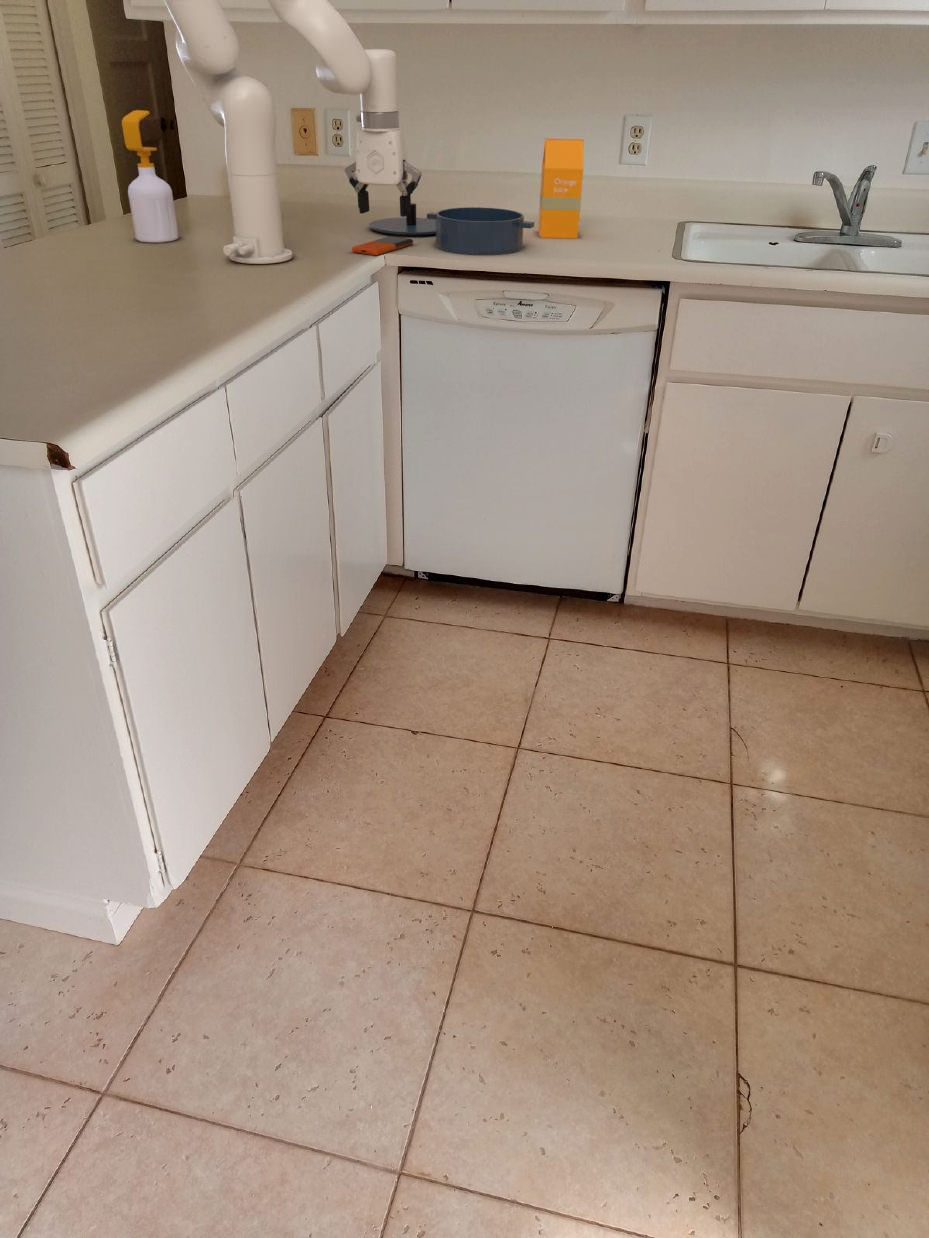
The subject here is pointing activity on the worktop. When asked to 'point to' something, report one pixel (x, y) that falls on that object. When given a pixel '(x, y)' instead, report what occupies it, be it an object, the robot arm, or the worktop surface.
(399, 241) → the phone
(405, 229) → the lid
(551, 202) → the orange juice
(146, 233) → the soap bottle
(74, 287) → the worktop surface
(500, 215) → the pot
